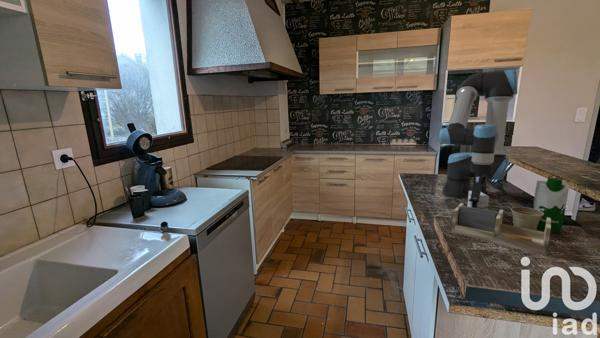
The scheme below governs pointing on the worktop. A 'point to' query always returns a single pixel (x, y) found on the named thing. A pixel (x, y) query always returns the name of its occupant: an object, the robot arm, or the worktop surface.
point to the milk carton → (551, 203)
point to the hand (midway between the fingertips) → (476, 212)
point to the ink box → (480, 201)
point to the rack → (498, 230)
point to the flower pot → (526, 217)
